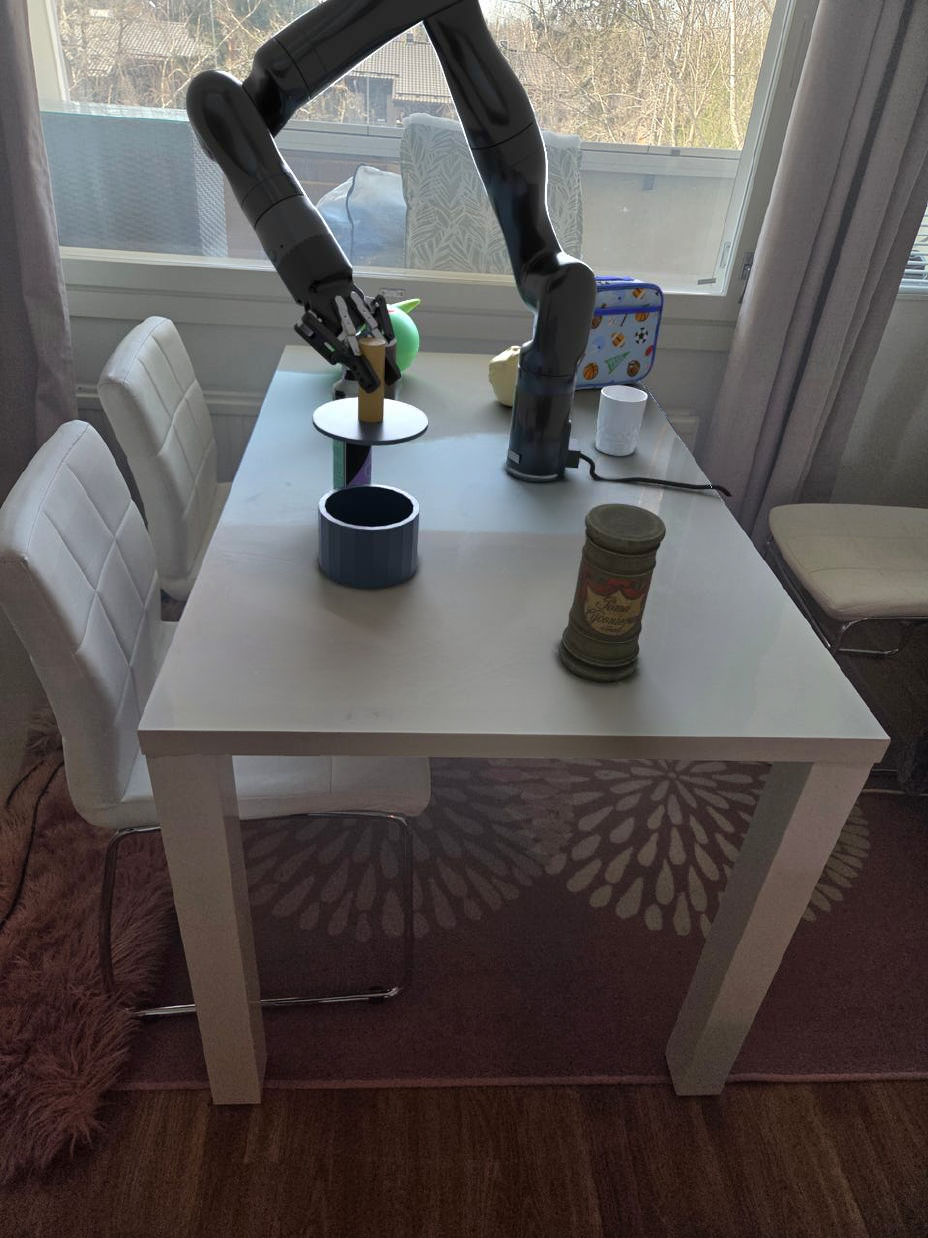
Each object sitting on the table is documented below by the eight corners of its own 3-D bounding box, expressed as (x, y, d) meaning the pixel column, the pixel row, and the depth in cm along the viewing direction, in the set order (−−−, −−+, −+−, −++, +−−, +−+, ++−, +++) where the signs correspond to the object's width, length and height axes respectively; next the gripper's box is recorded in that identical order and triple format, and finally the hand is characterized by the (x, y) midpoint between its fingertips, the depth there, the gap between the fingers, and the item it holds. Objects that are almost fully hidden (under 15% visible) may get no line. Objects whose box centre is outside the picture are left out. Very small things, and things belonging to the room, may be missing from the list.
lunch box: (541, 397, 170) (557, 281, 158) (517, 379, 178) (529, 267, 166) (654, 386, 181) (677, 277, 169) (626, 370, 189) (646, 264, 176)
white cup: (609, 460, 147) (619, 403, 141) (583, 442, 153) (592, 387, 147) (645, 454, 150) (657, 399, 145) (619, 437, 156) (629, 383, 150)
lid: (429, 410, 108) (434, 328, 102) (425, 454, 97) (430, 365, 91) (321, 402, 107) (319, 319, 102) (303, 446, 96) (301, 355, 90)
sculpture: (508, 388, 173) (514, 334, 167) (560, 404, 168) (568, 348, 162) (476, 402, 165) (481, 345, 159) (529, 419, 160) (536, 361, 154)
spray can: (364, 513, 124) (366, 377, 113) (328, 507, 125) (326, 371, 113) (375, 497, 128) (378, 365, 117) (340, 491, 129) (339, 359, 118)
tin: (418, 543, 118) (421, 487, 113) (413, 592, 108) (417, 533, 103) (326, 536, 118) (325, 480, 113) (313, 585, 107) (311, 525, 103)
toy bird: (318, 380, 168) (316, 303, 160) (342, 355, 182) (342, 283, 174) (408, 392, 167) (411, 315, 158) (425, 366, 181) (429, 293, 172)
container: (552, 636, 102) (574, 499, 92) (625, 637, 103) (656, 501, 93) (566, 683, 95) (592, 540, 85) (645, 683, 96) (680, 542, 86)
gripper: (273, 237, 89) (362, 383, 90) (363, 223, 99) (442, 355, 100) (241, 281, 94) (326, 417, 96) (329, 263, 104) (404, 387, 106)
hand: (385, 385), depth 98 cm, fingers closed on lid, 3 cm apart
